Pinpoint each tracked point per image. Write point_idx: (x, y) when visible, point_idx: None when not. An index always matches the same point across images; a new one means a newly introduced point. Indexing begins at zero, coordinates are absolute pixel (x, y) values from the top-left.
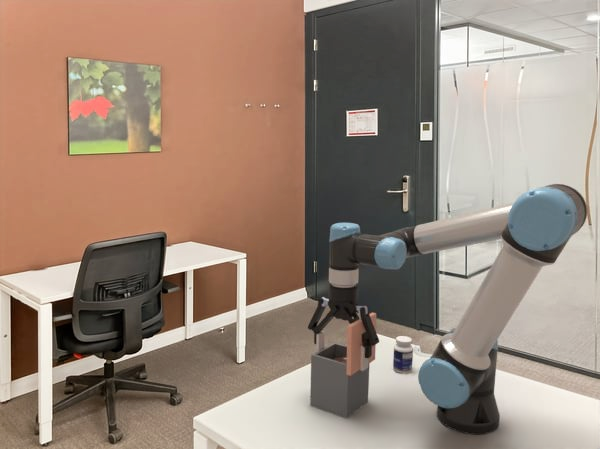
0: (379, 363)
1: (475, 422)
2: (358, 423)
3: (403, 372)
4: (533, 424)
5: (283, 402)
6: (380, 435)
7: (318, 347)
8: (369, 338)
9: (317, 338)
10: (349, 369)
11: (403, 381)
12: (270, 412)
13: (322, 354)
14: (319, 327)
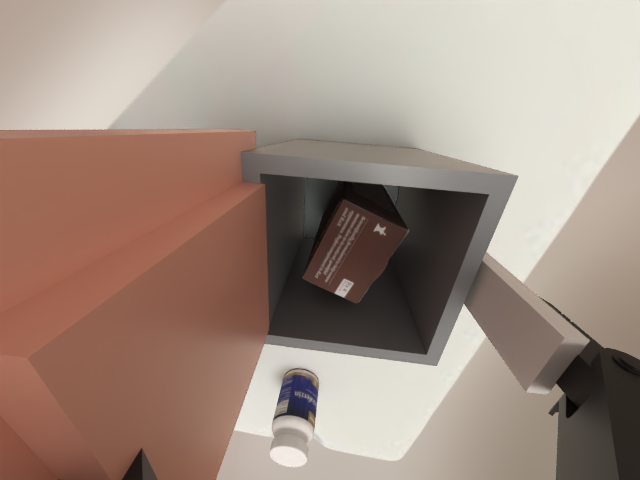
0: (350, 386)
1: None
2: (261, 132)
3: (292, 371)
4: None
5: (503, 118)
6: (188, 107)
7: (498, 275)
8: None
9: (551, 314)
10: (223, 129)
11: (278, 345)
12: (529, 23)
13: (453, 253)
14: (633, 411)
